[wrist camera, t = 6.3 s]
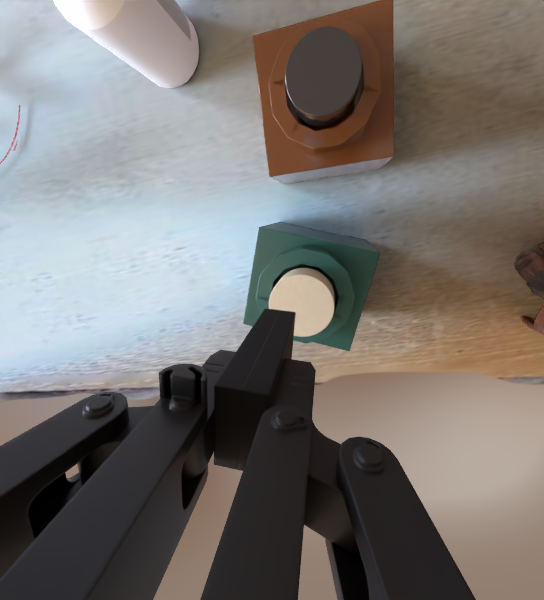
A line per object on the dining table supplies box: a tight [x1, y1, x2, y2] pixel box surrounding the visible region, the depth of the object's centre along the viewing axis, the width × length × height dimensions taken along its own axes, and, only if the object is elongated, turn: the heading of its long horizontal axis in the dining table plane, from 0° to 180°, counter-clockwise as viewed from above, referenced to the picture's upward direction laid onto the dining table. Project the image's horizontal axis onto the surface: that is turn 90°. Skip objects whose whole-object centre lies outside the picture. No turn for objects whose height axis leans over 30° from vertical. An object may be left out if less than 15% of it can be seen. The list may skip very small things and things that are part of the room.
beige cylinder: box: [269, 268, 334, 337], centre depth 22 cm, size 5×5×3 cm
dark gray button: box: [285, 26, 362, 127], centre depth 19 cm, size 5×5×2 cm
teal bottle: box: [243, 222, 380, 351], centre depth 29 cm, size 10×9×12 cm
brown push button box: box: [253, 0, 394, 184], centre depth 25 cm, size 10×10×10 cm
